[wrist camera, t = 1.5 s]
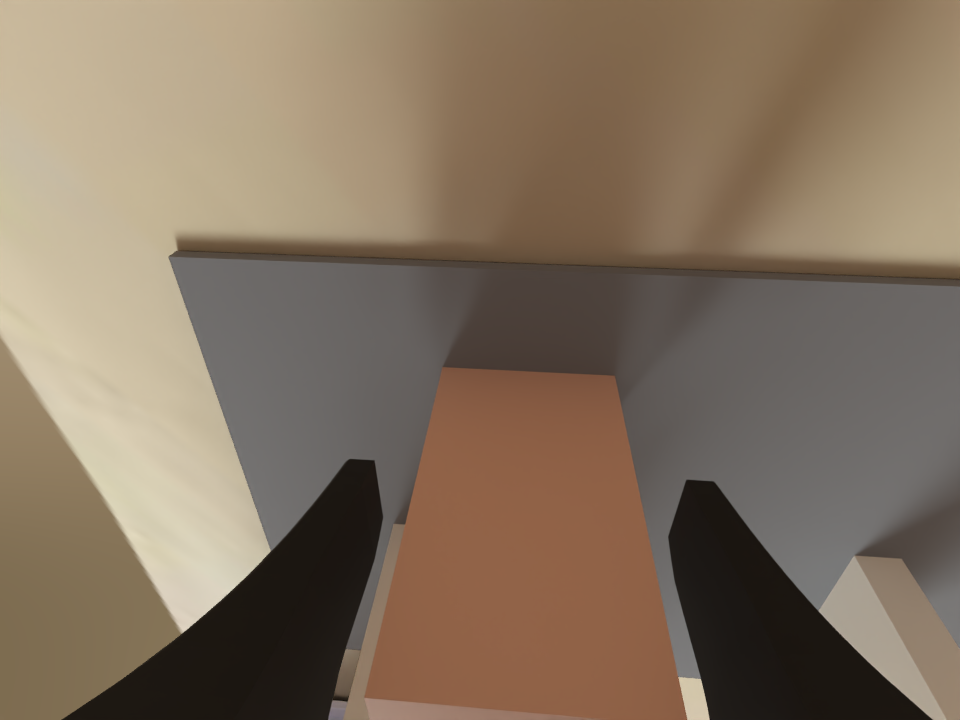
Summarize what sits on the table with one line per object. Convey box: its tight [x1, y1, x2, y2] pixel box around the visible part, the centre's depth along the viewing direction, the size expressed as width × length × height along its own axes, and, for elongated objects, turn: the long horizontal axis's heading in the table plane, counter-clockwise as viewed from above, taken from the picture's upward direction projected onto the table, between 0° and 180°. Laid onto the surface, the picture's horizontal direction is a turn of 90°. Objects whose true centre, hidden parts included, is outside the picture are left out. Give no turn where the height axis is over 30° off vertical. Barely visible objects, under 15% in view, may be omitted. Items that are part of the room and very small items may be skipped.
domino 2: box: [364, 367, 687, 720], centre depth 12 cm, size 2×5×9 cm, turn 90°
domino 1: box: [343, 524, 405, 720], centre depth 18 cm, size 2×5×9 cm, turn 179°
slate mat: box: [169, 251, 960, 679], centre depth 19 cm, size 34×20×1 cm, turn 90°
